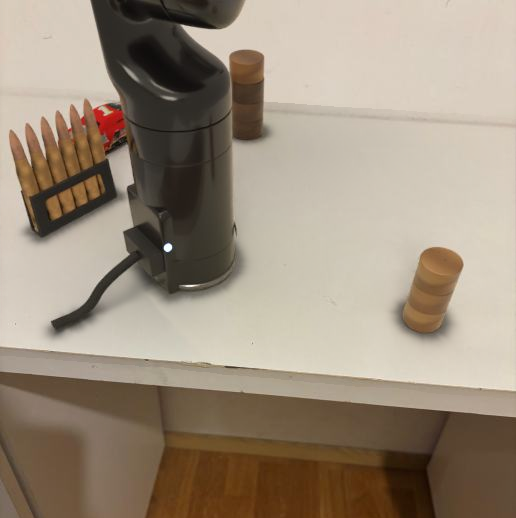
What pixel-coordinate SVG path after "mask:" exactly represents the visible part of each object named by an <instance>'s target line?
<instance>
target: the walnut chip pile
mask: <svg viewBox="0 0 516 518" xmlns="http://www.w3.org/2000/svg"><path fill="white" fill-rule="evenodd" d="M231 83H232V137H233V138H235V139H237V140H243V141H253V140H256V139H258V138H260V137H261V136H262V135H263V133H264V107H265V106H264V104H265V77H264V78H263V80H262V81H261V82H259V83H256V84H250V85H244V84H238V83H235V82H233V81H232V80H231Z"/></svg>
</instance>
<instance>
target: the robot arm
mask: <svg viewBox="0 0 516 518" xmlns="http://www.w3.org/2000/svg"><path fill="white" fill-rule="evenodd" d="M246 1H247V0H89V2H90V5H91V6H90V7H91V10H92V15H93V18H94V23H95V27H96V31H97V35H98V39H99V40H98V41H99V45H100V48H101V53H102V58H103V61H104V67H105V69H106V73H107V76H108V78H109V80H110V82H111V85H112V86H113V88H114V89H115V91H116V93H117V94H118V97H119V102H121V108H122V112H123V118H124V124H125V130H126V136H127V140H126V142H127V148H128V154H129V161H130V165H131V166H130V167H131V174H132V179H133V182H132V183H131V184H128V185H127V186H126V193H127V199H128V204H129V210H130V216H131V222H132V227H130V228H128V229H125V230H123V231H122V234H123V238H124V244H125V249H126V250H125V251H126V252H127V253H128V255H127V256H126V257H125V258H123V259H122V260H121V261H120V262H119V263H117V264H116V265H115V266H114V267H112V268H111V269H110V270H109V271H108V272H107V273H106V274H105V275H104V276H103V277H102V278H101V279H100V280H99V282H98V283H97V284H96V285H95V287H94V289H92V291H91V294H90V295H89V296H88V298H87V299H86V301H85V302H84V303H83V304H81V306H80V307H78V308H77V309H75V310H74V311H72V312H70V313H67V314H64V315H62V316H59V317H57V318H55V319H52V320H50V323H51V326H52V328H53V329H54V331H58V330H59V329H62V328H63V327H67V326H69V325H71V324H74V323H76V322H78V321H80V320H82V319H83V318H85V317H86V316H87V315H89V314H90V313H91V312H92V311H93V310H94V309H95V307H96V306H97V305H98V303H99V301H100V300H101V298H102V296H103V295H104V293H105V292H106V291H107V289H108V288H109V287H110V286H111V285H112V284H113V283H114V282H115V281H116V280H118V279H119V277H121V276H122V275H123V274H124V273H125V272H127V271H128V270H129V269H130V268H132V267H133V266H134V265H135V264H136V263H138V264H139V265H140V267H142V268H143V270H144V271H145V272H146V273H147V274H148V276H150V277H151V278H152V279H153V280H154V281H156V282H157V283H158V284H159V286H161V287H162V288H163V290H165V291H166V292H167V294H169V295H171V294H174V293H177V292H180V291H184V292H185V291H187V292H189V291H190V292H191V291H193V292H194V291H200V290H205V289H209V288H211V287H214V286H217V285H218V284H220V283H222V282H223V281H224V280H226V279H227V278H228V277H229V276H230V275H231V274H232V272H233V271H234V268H235V265H236V250H235V236H236V238H237V237H238V233H237V232H238V231H237V224H236V222H235V212H234V208H235V207H234V206H235V205H234V158H233V157H234V156H233V155H234V153H233V152H234V150H233V147H234V146H233V135H232V83H231V77H230V73H229V68H228V67H227V65H226V64H225V62H223V61H222V59H220V58H219V57H218V56H217V55H215V54H213V52H211V51H209V49H207V48H206V47H204V46H203V45H201V44H200V43H199V42H198V41H197V40H195V39H194V38H193V37H192V36H191V35H190V34H189V33H188V32H187V31H186V29H185V28H184V27H183V26H185V27H191V28H195V29H203V30H223V29H226V28H228V27H230V26H231V25H233V24H234V22H236V20H237V19H238V17H239V16H240V14H241V12H242V11H243V8H244V6H245V4H246Z"/></svg>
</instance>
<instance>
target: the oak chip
mask: <svg viewBox="0 0 516 518" xmlns="http://www.w3.org/2000/svg"><path fill="white" fill-rule="evenodd" d="M228 65H229V66H228V71H229V73H230V77H231V80H232V81H233V82H235V83H238V84H244V85H250V84H256V83H259V82H261V81H262V80H263V78H264V79H265V55H264V54H263V53H262V52H260V51H258V50H254V49H238V50H234V51H231V53H229V56H228Z"/></svg>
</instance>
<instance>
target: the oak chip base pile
mask: <svg viewBox="0 0 516 518" xmlns="http://www.w3.org/2000/svg"><path fill="white" fill-rule="evenodd" d="M419 255H420V256H419V259H418V262H417V266H416V269H415V271H414V275H413V278H412V282H411V284H410V288H409V292H408V295H407V298H406V301H405V305H404V308H403V311H402V320H403V322H404V324H405V325H406V326H407V327H408V328H410V329H411V330H412V331H415V332H418V333H424V334H426V333H427V334H428V333H433V332H435V331H437V330H438V329H440V328H441V326H442V324H443V321H444V318H445V315H446V313H447V311H448V308H449V305H450V302H451V300H452V297H453V294H454V292H455V289H456V287H457V284H458V283H459V282H458V281H459V279H460V276H461V274H462V271H463V269H464V261H463V258H462V257H461V255H460V254H459V253H457V252H456V251H454V250H452V249H450V248H447V247H443V246H442V247H441V246H432V247H428V248H426V249H424V250H423V251H422V252H421V253H420V254H419Z"/></svg>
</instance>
